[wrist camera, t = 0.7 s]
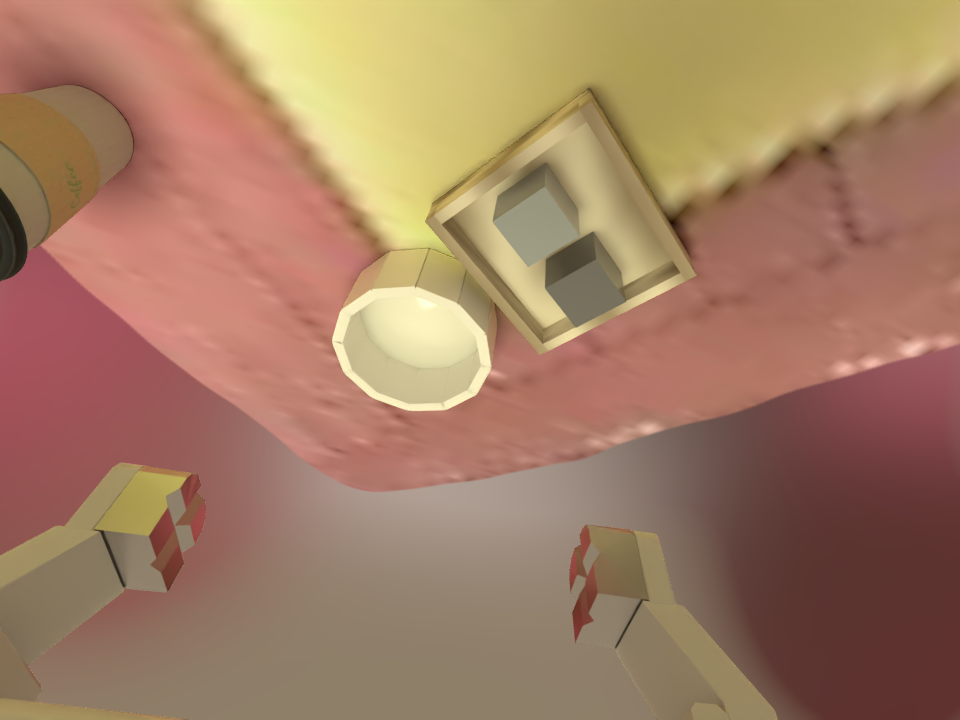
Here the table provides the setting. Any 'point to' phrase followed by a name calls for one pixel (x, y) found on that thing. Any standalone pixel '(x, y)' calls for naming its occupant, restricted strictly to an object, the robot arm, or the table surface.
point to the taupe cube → (536, 216)
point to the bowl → (417, 331)
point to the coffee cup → (53, 163)
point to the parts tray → (602, 209)
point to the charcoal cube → (584, 280)
